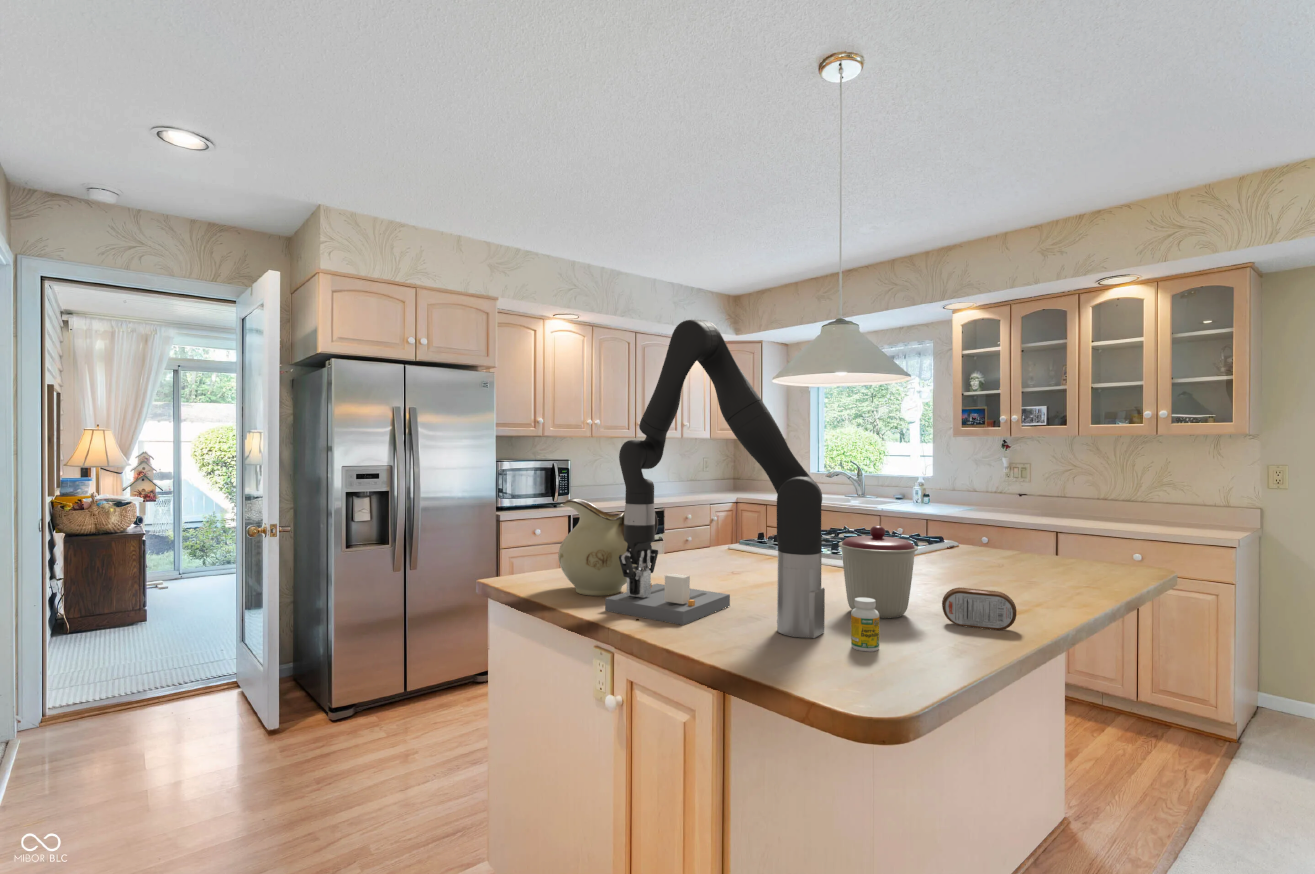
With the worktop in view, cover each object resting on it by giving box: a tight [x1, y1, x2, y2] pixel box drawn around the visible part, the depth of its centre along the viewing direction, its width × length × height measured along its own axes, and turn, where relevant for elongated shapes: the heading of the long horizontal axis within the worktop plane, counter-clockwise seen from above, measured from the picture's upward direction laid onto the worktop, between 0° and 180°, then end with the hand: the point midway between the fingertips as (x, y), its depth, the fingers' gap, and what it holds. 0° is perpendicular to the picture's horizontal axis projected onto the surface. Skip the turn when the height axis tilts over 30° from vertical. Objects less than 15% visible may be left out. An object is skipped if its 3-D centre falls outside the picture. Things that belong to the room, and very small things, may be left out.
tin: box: [941, 587, 1017, 631], centre depth 147 cm, size 15×3×8 cm, turn 65°
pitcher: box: [558, 497, 659, 597], centre depth 181 cm, size 22×24×25 cm
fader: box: [664, 573, 691, 604], centre depth 154 cm, size 5×3×6 cm, turn 56°
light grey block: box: [626, 569, 652, 598], centre depth 160 cm, size 5×3×6 cm, turn 56°
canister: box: [838, 525, 919, 619], centre depth 159 cm, size 18×18×21 cm
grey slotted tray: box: [604, 582, 731, 626], centre depth 161 cm, size 22×22×4 cm
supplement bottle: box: [850, 598, 880, 653], centre depth 131 cm, size 5×5×10 cm
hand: (638, 592), depth 160 cm, fingers closed on light grey block, 3 cm apart
